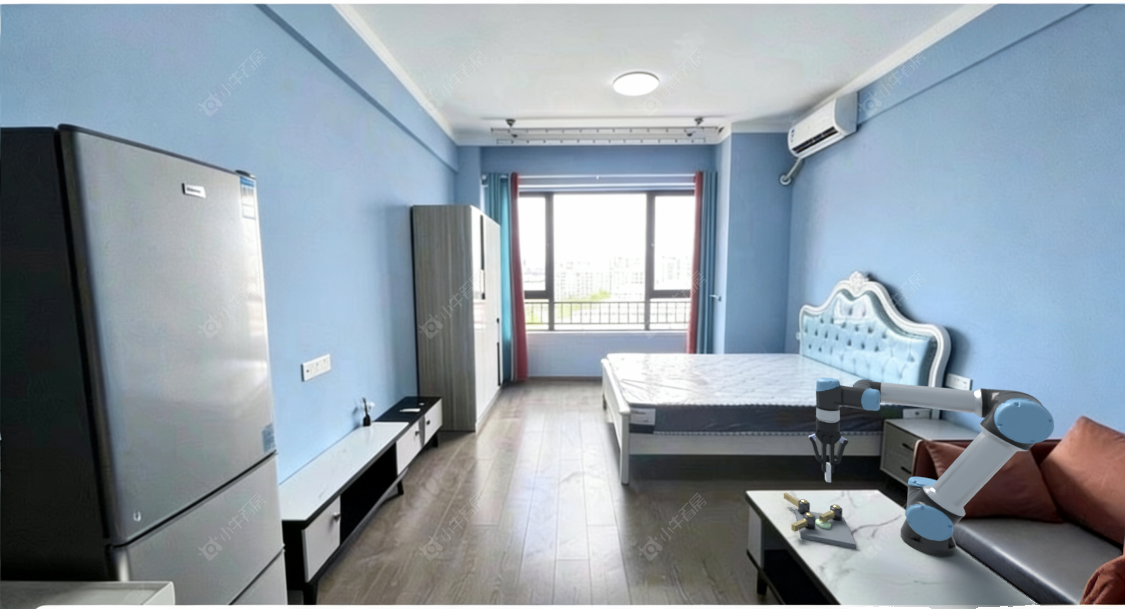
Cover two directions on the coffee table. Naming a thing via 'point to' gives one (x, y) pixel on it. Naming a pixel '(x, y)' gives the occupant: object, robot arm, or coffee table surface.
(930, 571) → the coffee table surface
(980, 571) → the coffee table surface
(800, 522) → the knob
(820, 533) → the base plate
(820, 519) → the knob
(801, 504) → the knob
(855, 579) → the coffee table surface
